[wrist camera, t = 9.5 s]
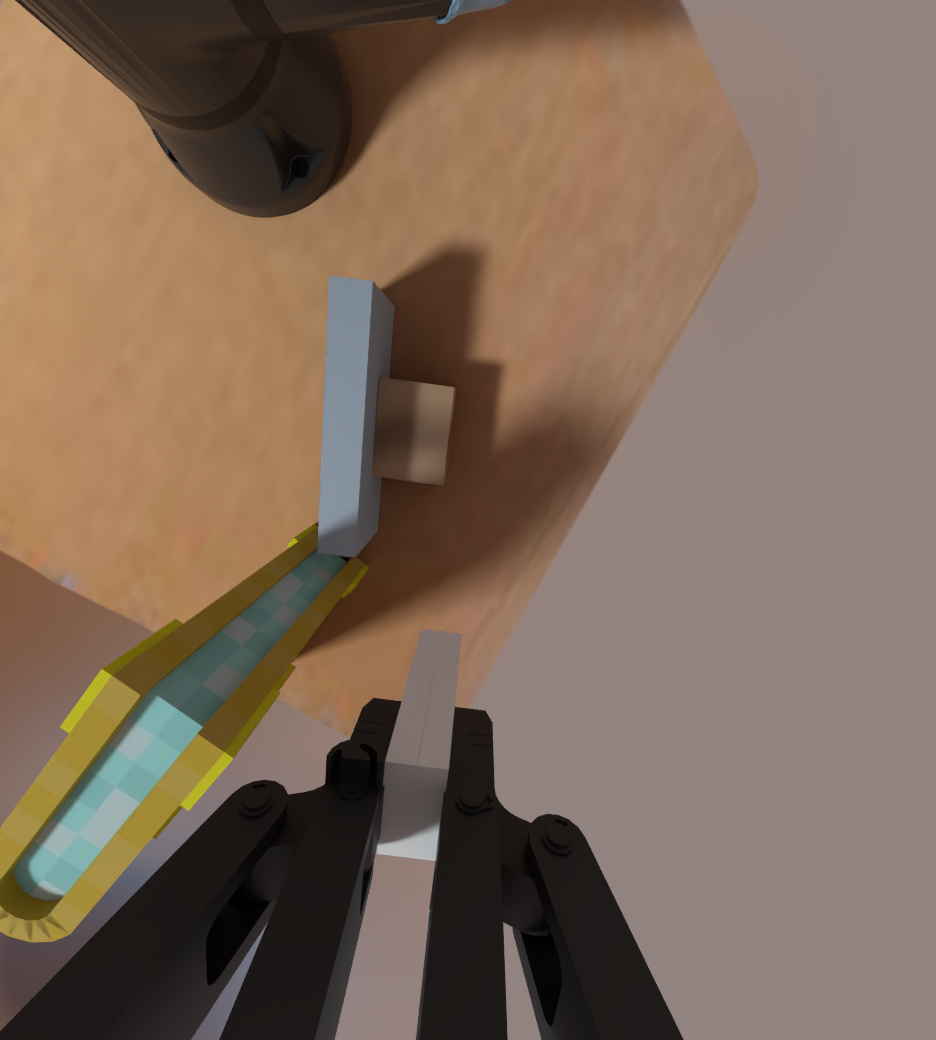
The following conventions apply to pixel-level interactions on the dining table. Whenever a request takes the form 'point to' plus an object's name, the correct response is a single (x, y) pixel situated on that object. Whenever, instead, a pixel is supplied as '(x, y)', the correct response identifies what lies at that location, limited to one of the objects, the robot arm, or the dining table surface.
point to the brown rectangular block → (413, 431)
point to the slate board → (352, 413)
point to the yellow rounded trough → (158, 737)
